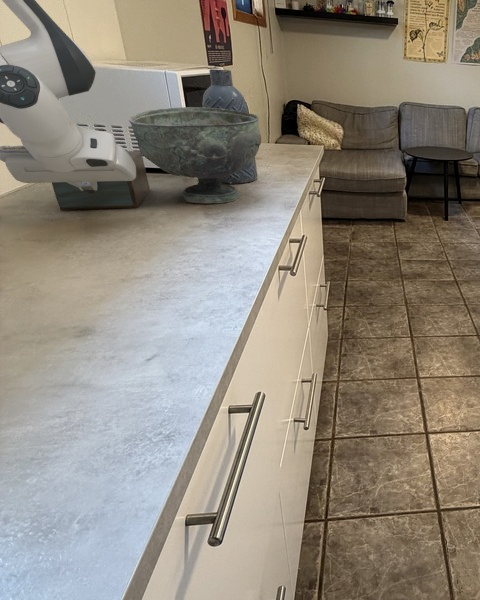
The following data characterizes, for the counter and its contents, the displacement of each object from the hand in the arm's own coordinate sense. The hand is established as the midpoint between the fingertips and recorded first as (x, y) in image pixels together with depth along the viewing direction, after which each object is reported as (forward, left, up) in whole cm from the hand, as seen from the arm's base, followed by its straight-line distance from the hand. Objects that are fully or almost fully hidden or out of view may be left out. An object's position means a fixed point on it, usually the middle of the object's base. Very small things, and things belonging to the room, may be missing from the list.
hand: (89, 187), depth 100 cm
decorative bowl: (+22, +9, -6) cm, 25 cm away
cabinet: (0, +10, -5) cm, 12 cm away
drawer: (0, +8, -4) cm, 9 cm away
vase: (+27, +28, -6) cm, 40 cm away
